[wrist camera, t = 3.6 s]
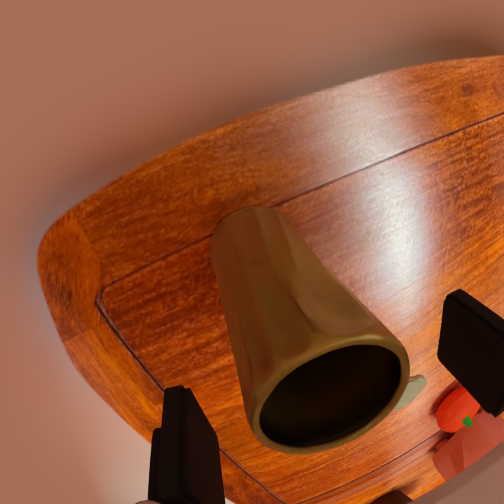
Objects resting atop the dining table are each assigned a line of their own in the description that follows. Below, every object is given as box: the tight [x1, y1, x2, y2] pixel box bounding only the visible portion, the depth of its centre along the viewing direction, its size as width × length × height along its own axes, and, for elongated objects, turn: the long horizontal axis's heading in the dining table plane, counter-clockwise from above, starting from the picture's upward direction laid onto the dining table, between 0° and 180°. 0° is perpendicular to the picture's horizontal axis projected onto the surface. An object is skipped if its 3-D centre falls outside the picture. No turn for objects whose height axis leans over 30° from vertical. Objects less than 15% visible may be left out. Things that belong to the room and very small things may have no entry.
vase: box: [209, 206, 410, 454], centre depth 15 cm, size 6×6×14 cm
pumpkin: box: [436, 386, 480, 433], centre depth 31 cm, size 7×8×6 cm
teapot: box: [432, 410, 504, 481], centre depth 33 cm, size 22×13×14 cm, turn 65°
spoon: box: [394, 375, 426, 410], centre depth 29 cm, size 19×4×1 cm, turn 104°
